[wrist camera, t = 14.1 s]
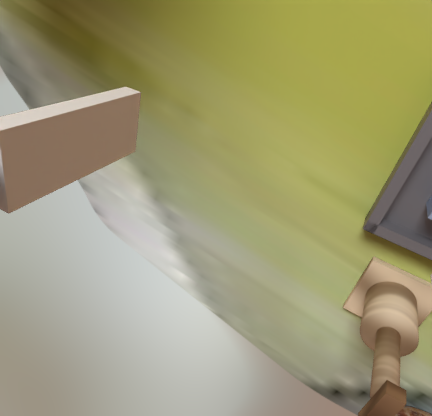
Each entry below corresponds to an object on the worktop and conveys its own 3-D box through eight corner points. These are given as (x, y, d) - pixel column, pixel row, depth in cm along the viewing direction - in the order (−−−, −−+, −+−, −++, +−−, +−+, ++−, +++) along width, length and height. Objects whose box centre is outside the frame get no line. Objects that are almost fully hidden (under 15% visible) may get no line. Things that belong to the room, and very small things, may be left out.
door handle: (373, 256, 37) (358, 357, 25) (444, 289, 35) (463, 414, 23) (344, 303, 40) (318, 410, 29) (407, 335, 39) (407, 463, 27)
